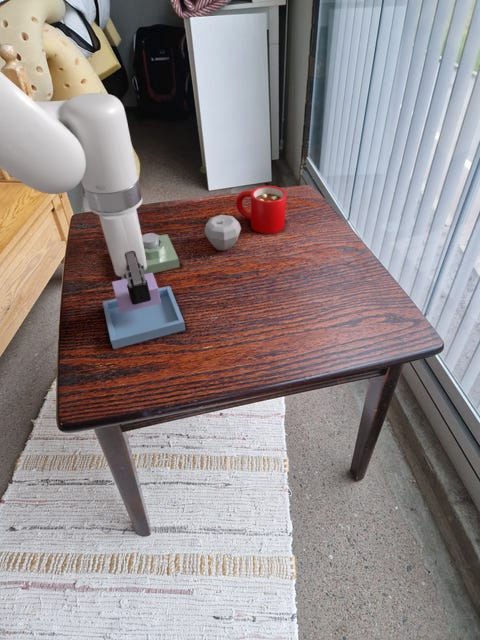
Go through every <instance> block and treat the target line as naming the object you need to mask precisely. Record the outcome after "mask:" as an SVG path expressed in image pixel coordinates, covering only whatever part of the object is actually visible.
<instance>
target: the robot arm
mask: <svg viewBox="0 0 480 640" xmlns="http://www.w3.org/2000/svg"><path fill="white" fill-rule="evenodd" d="M133 149H134V148H133V144H132V140H131V135H130V129H129V125H128V119H127V113H126V111H125V107H124V104H123V103H122V102H121V100H120V99H119V98H118V97H117V96H115V95H112V94H109V93H105V92H89V93H83V94H78V95H76V96H73V97H71V98H68V99H64V100H50V101H49V100H48V101H44V100H43V101H35V100H34V99H32V98H31V97H30V96H29V95H27V94H26V93H25V92H24V91H23V90H22V89H21V88H19V87H18V86H17V85H16V84H15V83H14V82H12V81H11V79H9V78H8V77H7V76H6V75H5V74H4V73H2V71H0V169H1V170H2V171H4V172H5V173H7V174H8V175H10V176H11V177H13V178H14V179H16V180H17V181H19V182H20V183H22V184H24V185H25V186H26V187H29V188H30V189H32V190H34V191H37V192H40V193H43V194H48V195H60V194H64V193H67V192H70V191H72V190H74V189H75V188H76V187H77V186H78V185H79V184H80V183H81V185H82V188H83V191H84V194H85V198H86V201H87V205H88V208H89V210H90V211H91V212H92V213H93V214H95V215H97V216H98V217H99V221H100V225H101V229H102V233H103V236H104V240H105V243H106V246H107V250H108V253H109V257H110V260H111V263H112V267H113V270H114V273H115V275H116V276H117V277H121V276H122V275H124V277H125V279H127V282H128V285H127V288H128V292H129V295H130V299H131V303H132V304H133V305H135V304H139V303H143V302H147V301H150V300H151V297H150V292H149V288H148V284H147V280H145V276H144V272H143V269H144V271H145V270H146V268H147V263H146V256H145V250H144V244H143V239H142V236H143V234H142V230H141V225H140V220H139V215H138V210H137V209H138V208H139V207H141V205H142V203H143V194H142V190H141V185H140V179H139V174H138V170H137V164H136V159H135V155H134V150H133ZM140 275H141V276H140ZM131 277H132V278H131ZM130 278H131V279H130Z"/></svg>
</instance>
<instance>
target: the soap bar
mask: <svg viewBox="0 0 480 640" xmlns="http://www.w3.org/2000/svg"><path fill="white" fill-rule="evenodd" d="M140 276H141V275H140ZM144 276H145V280H147V284H148V288H149V292H150V297H151V300H150V301H147V302H143V303H139V304H135V305H133V304H132V303H131V299H130V295H129V292H128V288H127V285H128V282H127V279H119V280H114V281H111V285H112V289H113V293H114V296H115V299H116V300H117V304H118V307H119V310H120V313H125V312H129V311H133V310H136V309H140V308H144V307H148V306H152V305H156V304H160V303H161V300H160V295H159V289H158V288H159V286H158V283H157V281H156V278H155V275H154V273H148V274H144ZM131 278H132V277H131ZM131 278H130V279H131Z"/></svg>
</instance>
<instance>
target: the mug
mask: <svg viewBox="0 0 480 640" xmlns="http://www.w3.org/2000/svg"><path fill="white" fill-rule="evenodd" d="M245 198H250V212H249V211H247V210H246V209H245V207H244V206H243V200H244V199H245ZM286 204H287V192H286V191H285V190H284V189H283V188H281V187H278V186H275V185H262V186H258V187H255V188H254V189H253V190H252V189H245V190H242V191H241V192H240V193H239V194H238V195H237V197H236V199H235V206H236V209H237V211H238V213H239V214H240V215H241V216H242V217H243V218H245V219H247V220H250V227H251V229H252V230H253V231H255V232H257V233H259V234H265V235H269V234H270V235H272V234H276V233H279V232H281V231H282V230H283V229H284V227H285V221H286V206H287V205H286Z"/></svg>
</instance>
